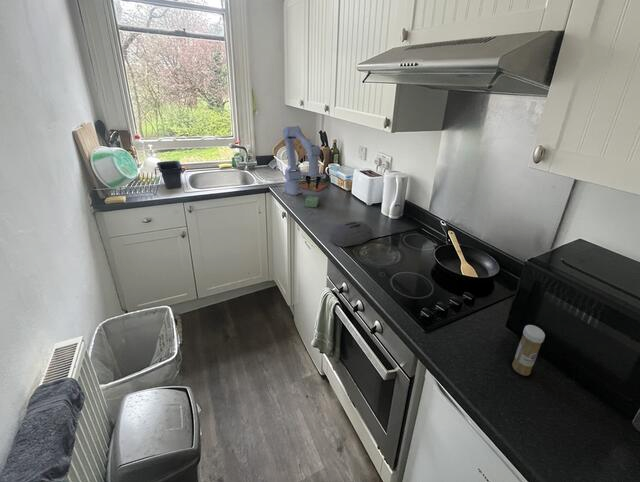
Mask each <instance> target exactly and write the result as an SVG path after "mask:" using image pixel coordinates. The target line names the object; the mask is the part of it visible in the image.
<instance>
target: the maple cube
mask: <svg viewBox="0 0 640 482" xmlns="http://www.w3.org/2000/svg"><path fill="white" fill-rule="evenodd" d="M316 190H317V189H316V182H315V181H310V184H309V191H314V192H317V191H316Z"/></svg>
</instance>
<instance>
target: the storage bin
mask: <svg viewBox="0 0 640 482" xmlns="http://www.w3.org/2000/svg"><path fill="white" fill-rule="evenodd" d="M182 170H183V165H182V163H180V161H179V160H166V161H159V162H156V167H154V174H155V175H157V171H159V173H160V174H161V176H162V181H163V184H164V185H165V188H166V189H167V190H172V189H180V188H182V178H181V177H182V176H181V171H182Z"/></svg>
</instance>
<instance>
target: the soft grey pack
mask: <svg viewBox="0 0 640 482" xmlns="http://www.w3.org/2000/svg"><path fill="white" fill-rule="evenodd" d="M330 237H331V241H332V243H333V244H334V245H337V246H338V247H342V248H345V247H355V246H358V245H362V244H364V243H367V242H368V241H370V240H371V239H372V238H373V229H372V227H371V226H370V225H368V224H367V223H365V222H363V221H361V220H360V221H348V222H342V223H340V224H337V225H336V226H334V227H333V228H332V230H331V232H330Z"/></svg>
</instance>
